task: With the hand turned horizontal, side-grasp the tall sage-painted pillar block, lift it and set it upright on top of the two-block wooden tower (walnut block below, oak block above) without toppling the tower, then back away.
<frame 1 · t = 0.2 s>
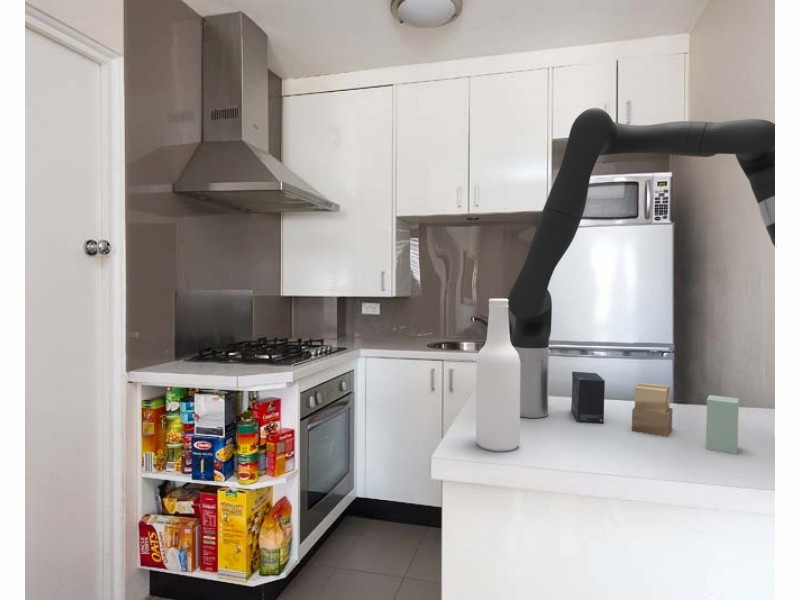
alcohol: (497, 446, 99), on the countertop
oak block: (652, 408, 109), point 5 cm above the countertop, touching walnut block
walnut block: (652, 430, 109), on the countertop, touching oak block
small box: (587, 418, 120), on the countertop
sage pillar: (721, 448, 97), on the countertop
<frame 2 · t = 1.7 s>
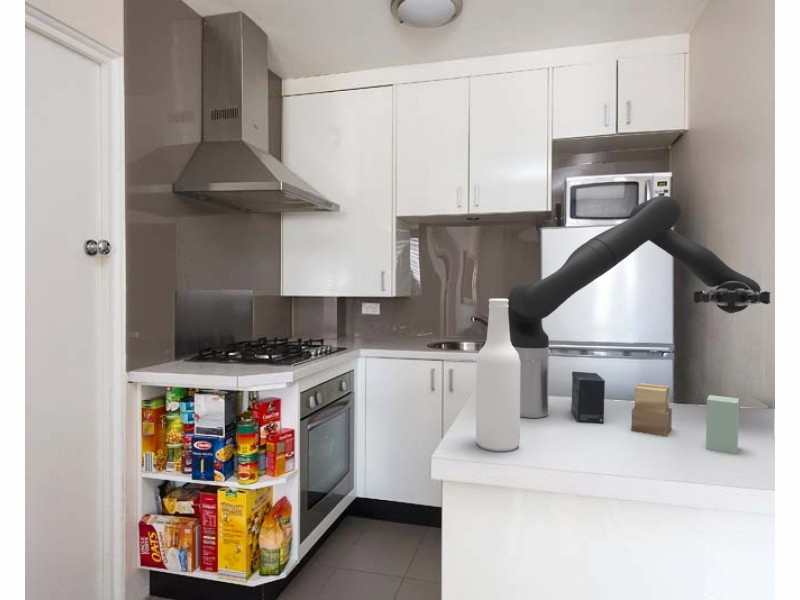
hand: (728, 298, 105), 30 cm above the countertop, tool horizontal, fingers open, 8 cm apart
nothing on the countertop moved.
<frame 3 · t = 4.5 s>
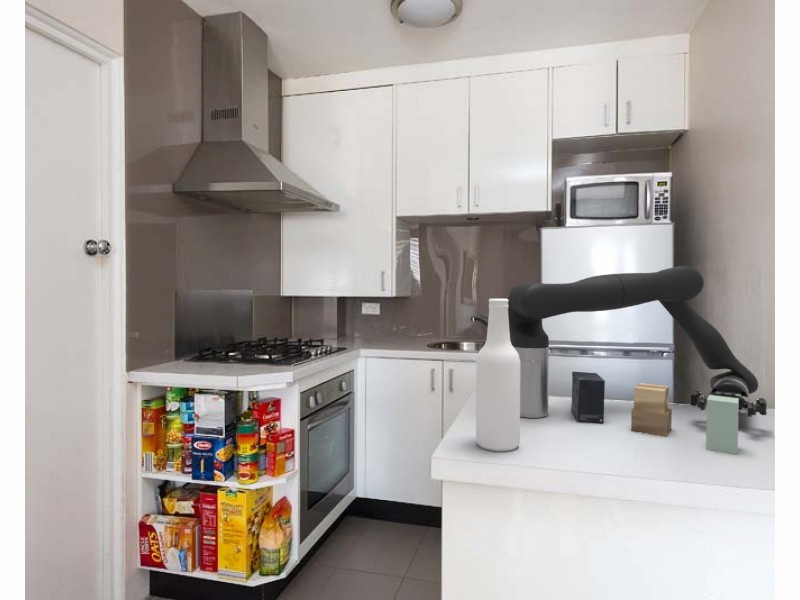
hand: (725, 408, 105), 6 cm above the countertop, tool horizontal, fingers open, 8 cm apart
nothing on the countertop moved.
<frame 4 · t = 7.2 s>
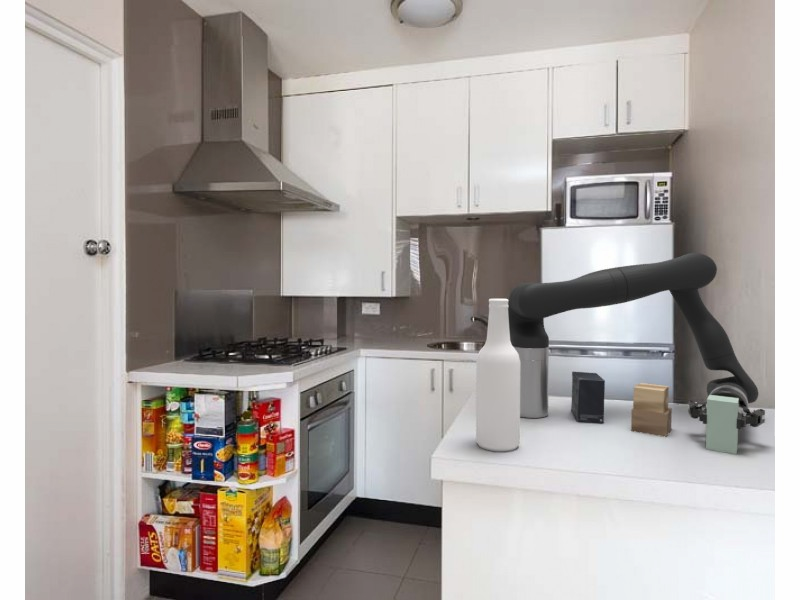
hand: (721, 421, 95), 6 cm above the countertop, tool horizontal, fingers closed on sage pillar, 5 cm apart
sage pillar: (721, 448, 97), on the countertop, touching gripper
everything else where it was.
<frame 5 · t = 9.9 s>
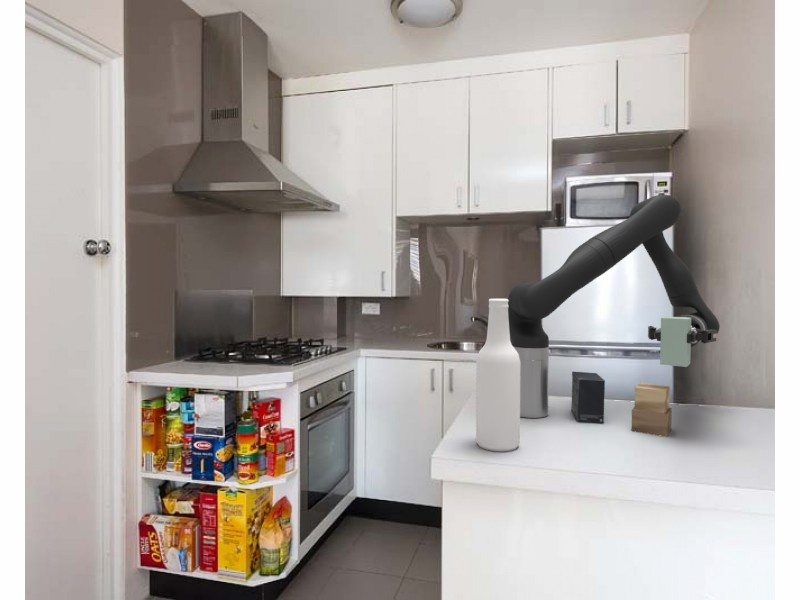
hand: (673, 337, 102), 22 cm above the countertop, tool horizontal, fingers closed on sage pillar, 5 cm apart
sage pillar: (675, 364, 104), point 16 cm above the countertop, touching gripper
everything else where it was.
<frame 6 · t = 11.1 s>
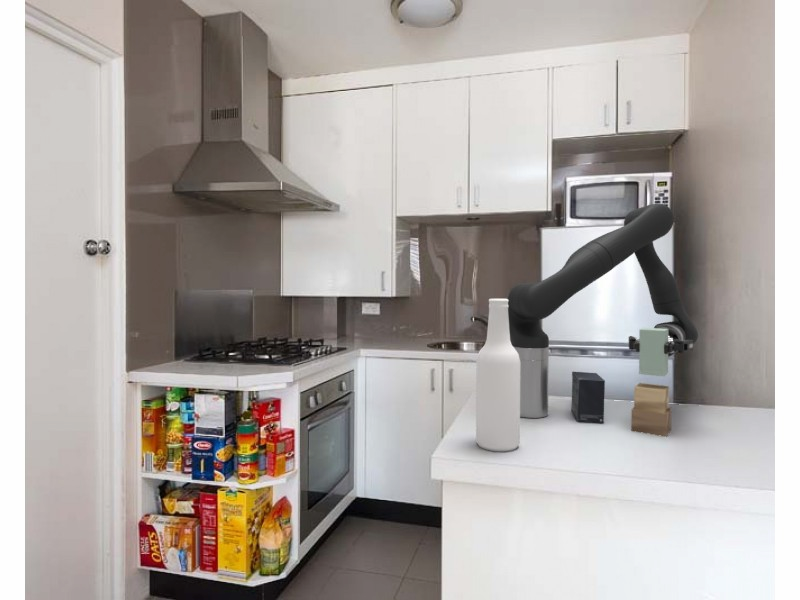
hand: (651, 348, 106), 19 cm above the countertop, tool horizontal, fingers closed on sage pillar, 5 cm apart
sage pillar: (653, 373, 109), point 13 cm above the countertop, touching gripper
everything else where it was.
when the fingers open (17 cm above the countertop, at t = 12.0 s): sage pillar stays where it is, resting on oak block.
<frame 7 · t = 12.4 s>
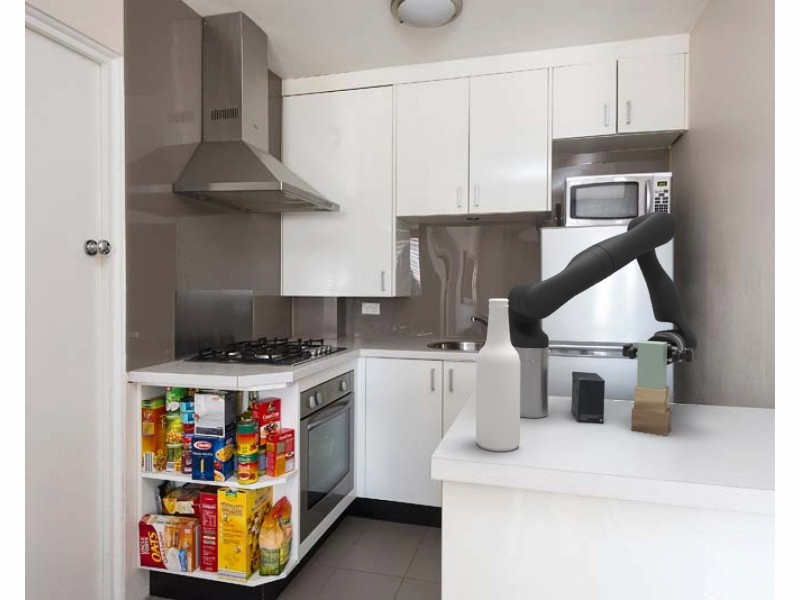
hand: (651, 356, 107), 17 cm above the countertop, tool horizontal, fingers open, 8 cm apart
oak block: (651, 408, 109), point 5 cm above the countertop, touching sage pillar, walnut block
sage pillar: (651, 386, 109), point 10 cm above the countertop, touching oak block
everything else where it was.
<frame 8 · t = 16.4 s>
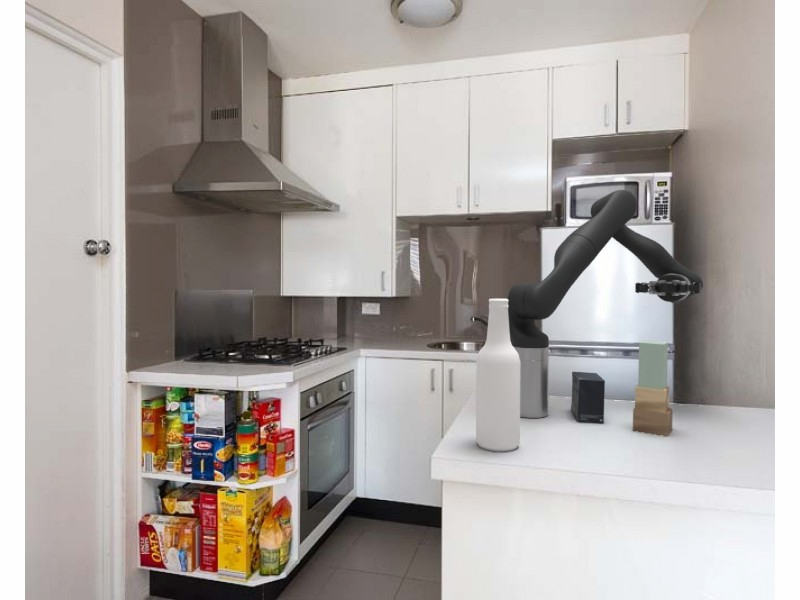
hand: (663, 288, 117), 32 cm above the countertop, tool horizontal, fingers open, 8 cm apart
nothing on the countertop moved.
at the end: sage pillar 0.0 cm off-centre on the oak block, point 5.0 cm above the oak block's base; sage pillar tilted 0°; oak block 0.2 cm off-centre on the walnut block, point 5.0 cm above the walnut block's base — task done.
